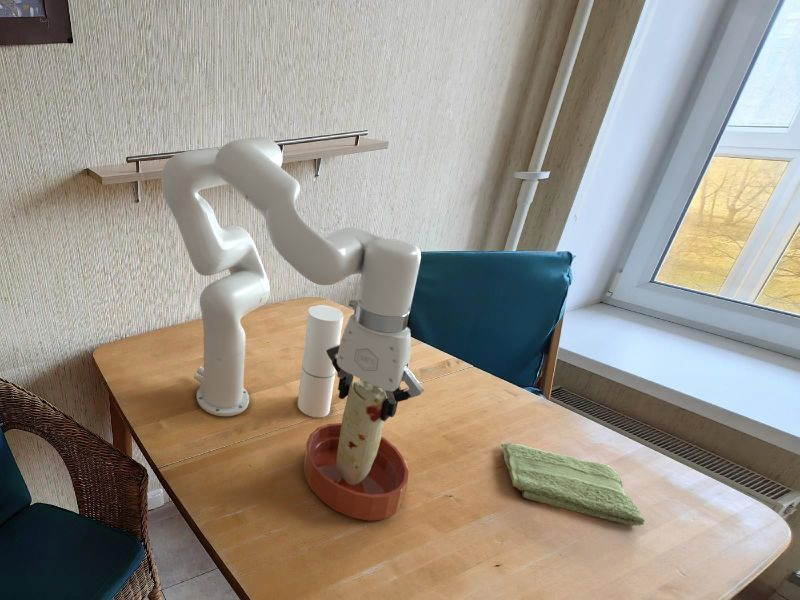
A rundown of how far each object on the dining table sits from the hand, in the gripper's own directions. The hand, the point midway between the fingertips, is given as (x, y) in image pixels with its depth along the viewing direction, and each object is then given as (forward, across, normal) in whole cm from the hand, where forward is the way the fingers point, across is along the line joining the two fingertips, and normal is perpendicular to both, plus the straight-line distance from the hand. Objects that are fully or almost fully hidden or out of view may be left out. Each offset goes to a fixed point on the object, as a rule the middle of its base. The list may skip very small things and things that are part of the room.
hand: (364, 405), depth 75 cm
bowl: (+18, 0, 0) cm, 18 cm away
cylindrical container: (+18, -16, +13) cm, 27 cm away
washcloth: (+18, +26, +28) cm, 42 cm away
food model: (+15, 0, 0) cm, 15 cm away
